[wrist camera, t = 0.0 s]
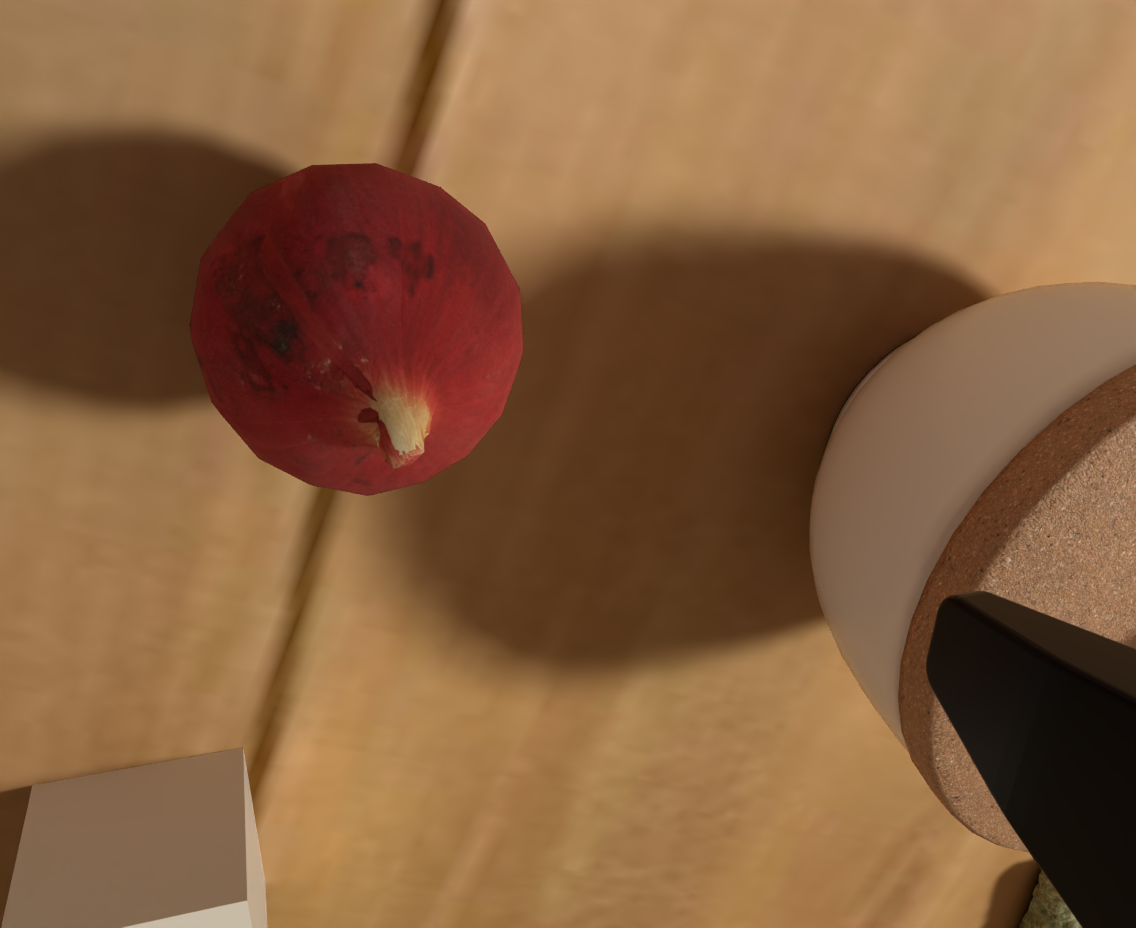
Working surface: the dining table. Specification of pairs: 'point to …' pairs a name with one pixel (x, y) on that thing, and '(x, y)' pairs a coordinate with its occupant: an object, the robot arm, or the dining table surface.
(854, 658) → the lidded bowl
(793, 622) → the dining table surface
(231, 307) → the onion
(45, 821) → the cream block
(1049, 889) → the washcloth
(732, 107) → the dining table surface
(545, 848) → the dining table surface
